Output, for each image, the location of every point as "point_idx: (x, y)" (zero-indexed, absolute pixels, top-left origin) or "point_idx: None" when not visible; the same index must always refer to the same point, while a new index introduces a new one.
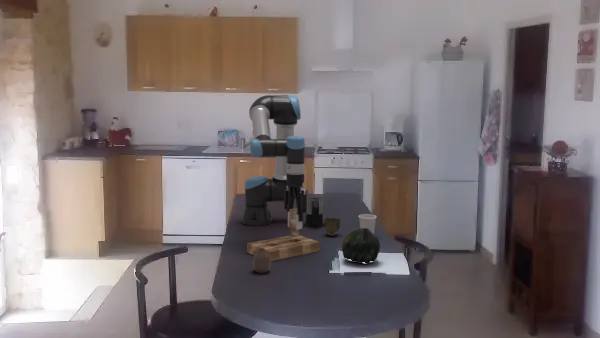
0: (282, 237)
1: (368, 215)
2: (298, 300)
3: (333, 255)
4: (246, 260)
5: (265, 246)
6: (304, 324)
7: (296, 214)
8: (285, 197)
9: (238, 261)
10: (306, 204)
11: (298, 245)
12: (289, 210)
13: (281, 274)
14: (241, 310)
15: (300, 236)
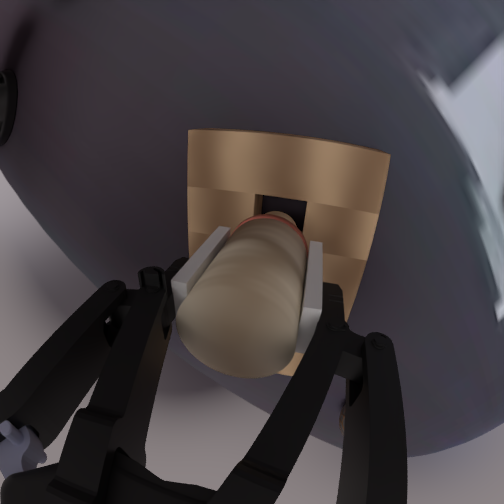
0: (197, 223)
1: None
2: (471, 417)
3: (456, 169)
4: (269, 376)
5: None
6: (487, 431)
7: (297, 350)
8: (78, 396)
9: (262, 387)
10: (402, 410)
11: (355, 277)
12: (215, 366)
13: (408, 390)
14: (418, 455)
15: (235, 141)
